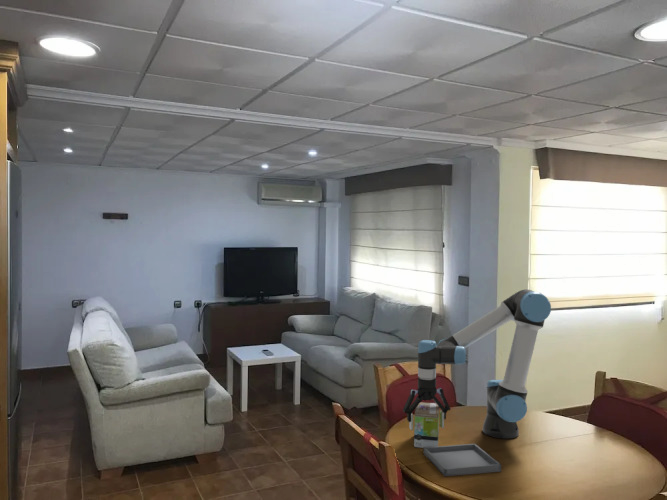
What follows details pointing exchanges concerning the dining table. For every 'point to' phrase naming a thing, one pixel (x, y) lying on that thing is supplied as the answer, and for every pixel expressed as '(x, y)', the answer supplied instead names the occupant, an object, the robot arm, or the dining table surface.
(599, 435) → the dining table surface
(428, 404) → the tea box
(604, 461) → the dining table surface
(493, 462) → the tray
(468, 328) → the robot arm
